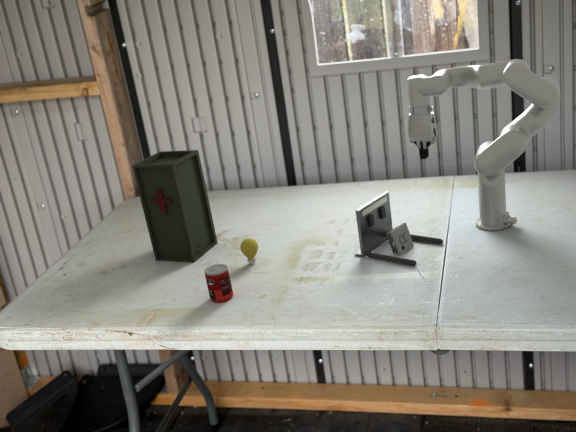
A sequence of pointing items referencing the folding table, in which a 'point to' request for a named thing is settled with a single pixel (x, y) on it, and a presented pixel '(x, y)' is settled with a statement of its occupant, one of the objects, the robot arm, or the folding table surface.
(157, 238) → the first aid box
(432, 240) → the cable far
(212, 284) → the canned food
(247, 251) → the light bulb
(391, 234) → the electrical switch
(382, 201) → the panel
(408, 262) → the cable near
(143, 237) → the folding table surface
